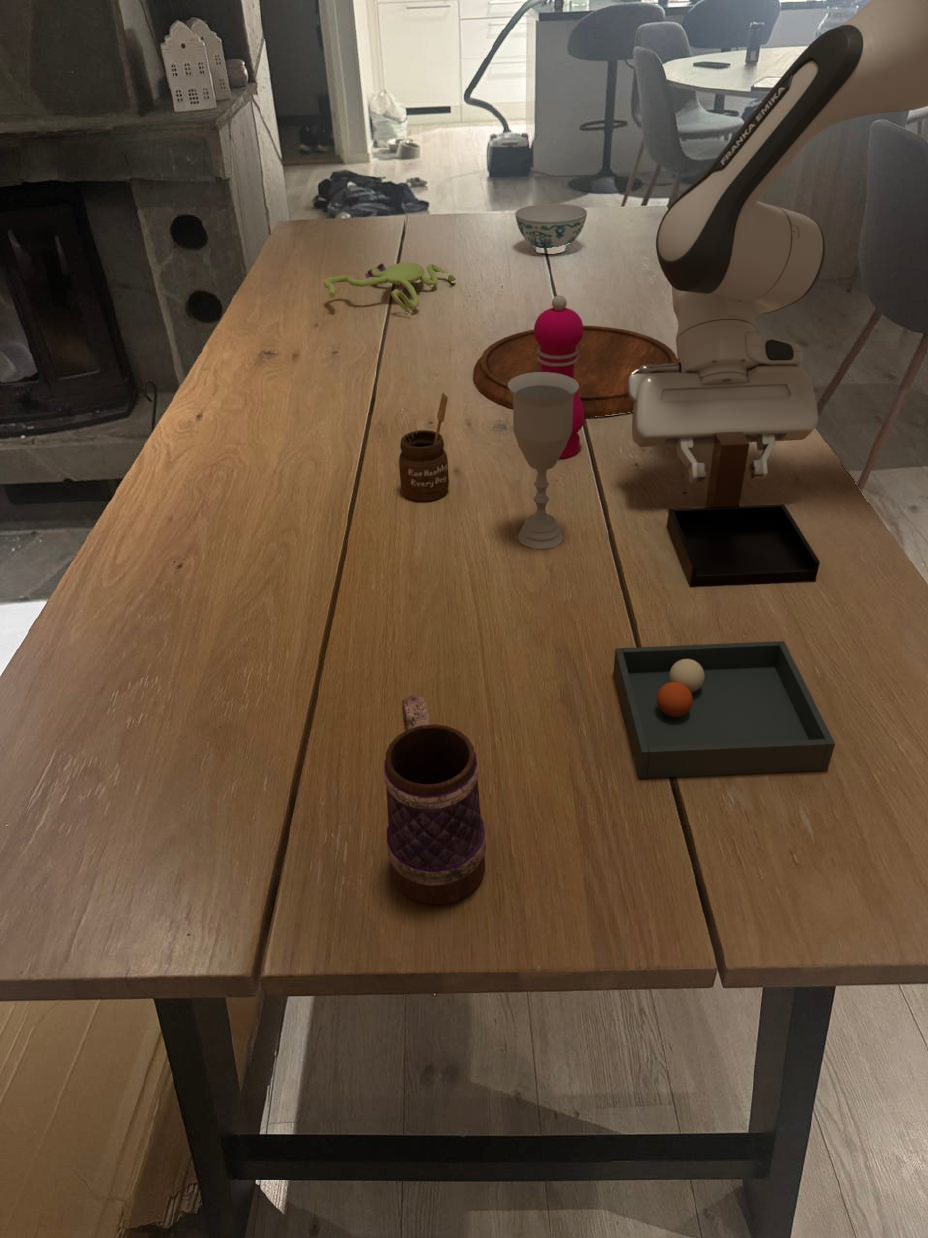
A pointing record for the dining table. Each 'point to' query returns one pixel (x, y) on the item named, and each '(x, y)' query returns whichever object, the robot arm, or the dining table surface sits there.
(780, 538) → the pan
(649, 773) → the tray
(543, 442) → the chalice
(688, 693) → the ball
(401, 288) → the figurine
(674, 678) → the ball
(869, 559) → the dining table surface
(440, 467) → the utensil holder
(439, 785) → the mug
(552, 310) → the pepper mill
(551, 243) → the chinaware
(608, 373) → the cutting board
